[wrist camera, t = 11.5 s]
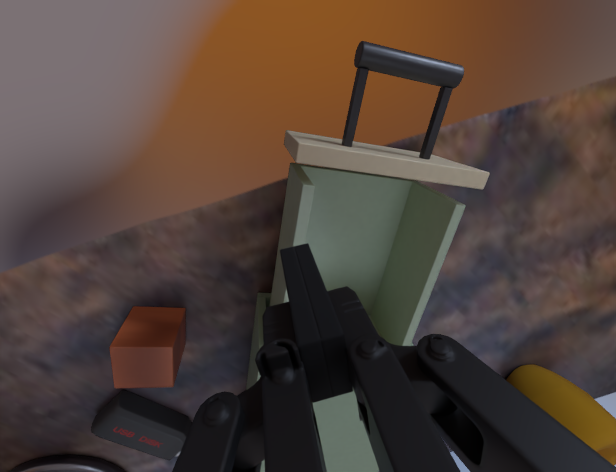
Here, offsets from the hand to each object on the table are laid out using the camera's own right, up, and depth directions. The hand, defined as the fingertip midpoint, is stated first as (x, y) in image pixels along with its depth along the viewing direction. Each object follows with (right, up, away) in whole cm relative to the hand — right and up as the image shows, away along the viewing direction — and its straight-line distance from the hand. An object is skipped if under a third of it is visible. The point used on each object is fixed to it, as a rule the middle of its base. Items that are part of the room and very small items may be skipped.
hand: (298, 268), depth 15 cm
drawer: (+4, +4, +13) cm, 14 cm away
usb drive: (-19, -21, +21) cm, 35 cm away
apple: (+33, -20, +30) cm, 49 cm away
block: (-15, -8, +16) cm, 23 cm away
